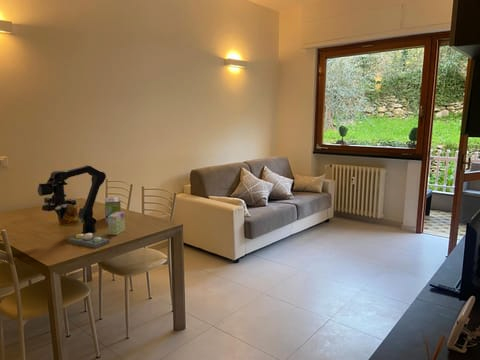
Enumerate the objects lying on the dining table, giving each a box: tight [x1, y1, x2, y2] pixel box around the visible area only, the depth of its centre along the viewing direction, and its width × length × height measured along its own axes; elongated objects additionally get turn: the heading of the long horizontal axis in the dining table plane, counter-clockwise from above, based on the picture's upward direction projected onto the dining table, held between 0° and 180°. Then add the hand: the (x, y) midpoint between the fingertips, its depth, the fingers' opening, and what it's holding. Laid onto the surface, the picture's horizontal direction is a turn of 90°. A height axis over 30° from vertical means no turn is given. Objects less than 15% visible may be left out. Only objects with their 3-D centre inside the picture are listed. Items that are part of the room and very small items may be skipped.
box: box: [107, 211, 126, 236], centre depth 222 cm, size 10×6×12 cm, turn 171°
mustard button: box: [75, 233, 85, 239], centre depth 207 cm, size 4×4×3 cm
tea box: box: [104, 196, 122, 224], centre depth 249 cm, size 15×10×15 cm
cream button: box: [83, 233, 93, 240], centre depth 204 cm, size 4×4×3 cm
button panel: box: [67, 235, 111, 249], centre depth 205 cm, size 10×22×2 cm, turn 64°
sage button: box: [93, 236, 102, 243], centre depth 201 cm, size 4×4×3 cm
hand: (61, 219), depth 208 cm, fingers closed
